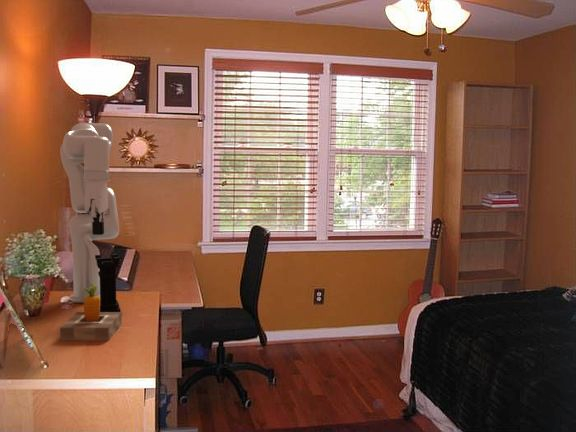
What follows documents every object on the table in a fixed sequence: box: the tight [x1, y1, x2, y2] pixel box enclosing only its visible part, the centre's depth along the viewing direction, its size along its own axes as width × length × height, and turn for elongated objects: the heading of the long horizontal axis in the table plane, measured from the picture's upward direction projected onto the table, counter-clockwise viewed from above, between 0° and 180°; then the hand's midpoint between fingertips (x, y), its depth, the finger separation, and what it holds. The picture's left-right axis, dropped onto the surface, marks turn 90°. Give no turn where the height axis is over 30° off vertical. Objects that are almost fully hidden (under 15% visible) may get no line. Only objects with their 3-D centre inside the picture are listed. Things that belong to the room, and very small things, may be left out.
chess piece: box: [95, 253, 123, 317], centre depth 205 cm, size 8×8×20 cm
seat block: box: [59, 311, 123, 342], centre depth 187 cm, size 16×14×4 cm
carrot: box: [83, 283, 100, 322], centre depth 187 cm, size 5×5×15 cm
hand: (98, 234), depth 193 cm, fingers closed
